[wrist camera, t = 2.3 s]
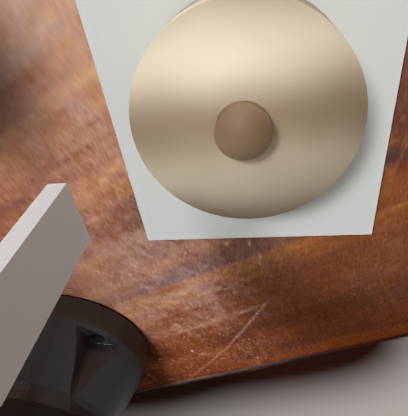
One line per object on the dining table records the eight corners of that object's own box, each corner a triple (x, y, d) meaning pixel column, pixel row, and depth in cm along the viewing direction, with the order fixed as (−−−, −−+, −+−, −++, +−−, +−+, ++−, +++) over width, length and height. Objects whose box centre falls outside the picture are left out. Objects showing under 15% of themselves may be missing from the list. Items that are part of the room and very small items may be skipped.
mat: (370, 231, 25) (371, 234, 25) (149, 237, 28) (148, 240, 28) (444, -178, 14) (447, -180, 13) (48, -99, 16) (45, -99, 16)
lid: (344, 184, 23) (357, 223, 20) (166, 194, 25) (153, 230, 22) (366, -34, 16) (392, -25, 13) (118, 3, 18) (91, 18, 15)
